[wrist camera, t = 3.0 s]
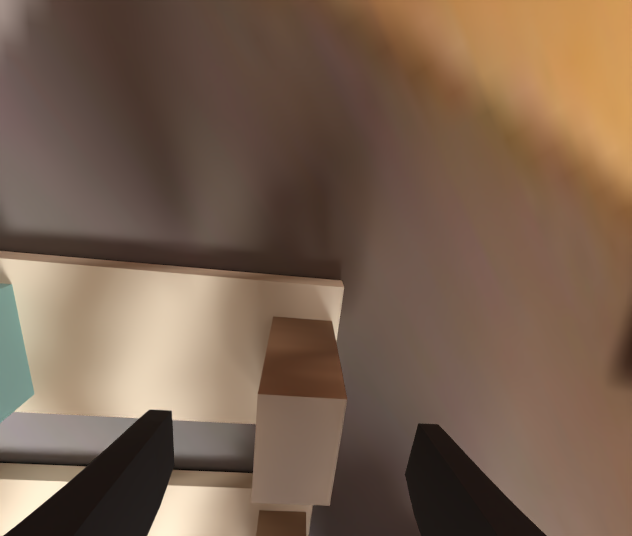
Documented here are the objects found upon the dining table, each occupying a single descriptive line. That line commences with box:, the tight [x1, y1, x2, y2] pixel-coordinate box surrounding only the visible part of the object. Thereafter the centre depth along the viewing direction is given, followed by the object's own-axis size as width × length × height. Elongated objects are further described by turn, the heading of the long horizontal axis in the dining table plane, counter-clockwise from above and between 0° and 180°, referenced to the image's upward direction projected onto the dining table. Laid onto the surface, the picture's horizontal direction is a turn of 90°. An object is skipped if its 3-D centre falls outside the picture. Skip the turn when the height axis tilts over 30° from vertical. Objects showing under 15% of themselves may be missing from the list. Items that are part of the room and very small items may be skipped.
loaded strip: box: [0, 251, 347, 506], centre depth 11 cm, size 20×7×5 cm, turn 84°
